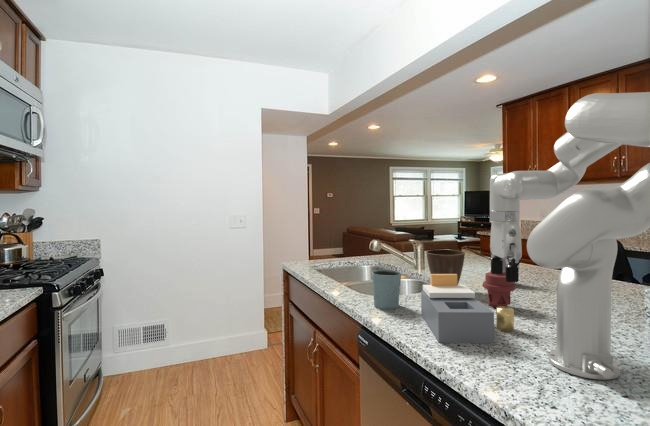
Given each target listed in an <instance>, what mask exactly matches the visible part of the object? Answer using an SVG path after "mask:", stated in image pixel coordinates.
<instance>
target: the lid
mask: <svg viewBox="0 0 650 426" xmlns="http://www.w3.org/2000/svg"><path fill="white" fill-rule="evenodd" d="M429 274H430V273H429ZM429 279H430V280H429V281H430V284H422V291H424V292H425V293H426V294H427V295H428V296H429V298H476V292H475V291H473V290H472V289H471V288H469V287H468V286H467V285H465V284H458V285H457V274H430V278H429Z"/></svg>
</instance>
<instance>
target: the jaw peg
mask: <svg viewBox="0 0 650 426" xmlns="http://www.w3.org/2000/svg"><path fill="white" fill-rule="evenodd" d="M495 311H496V313H495V315H496V318H495V319H496V321H495V322H496V323H495V324H496V326H495V327H496V330H497V331H500V332H503V333H513V332H514V331H515V326H514V325H515V319H514V318H515V310H514V308H512V307H510V306H507V307H505V306H498V307H496V309H495Z"/></svg>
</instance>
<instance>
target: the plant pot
mask: <svg viewBox="0 0 650 426" xmlns="http://www.w3.org/2000/svg"><path fill="white" fill-rule="evenodd" d="M425 253H426V260H427V265H428V270H429V274H457V285H459V282H460V279H461V276H462V272H463V268H464V263H465V262H464V261H465V256H466V255H465V254H466V252H465V251H464V250H463V251H462V250H458V249H443V248H442V249H430V250H427V251H426V252H425Z"/></svg>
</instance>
